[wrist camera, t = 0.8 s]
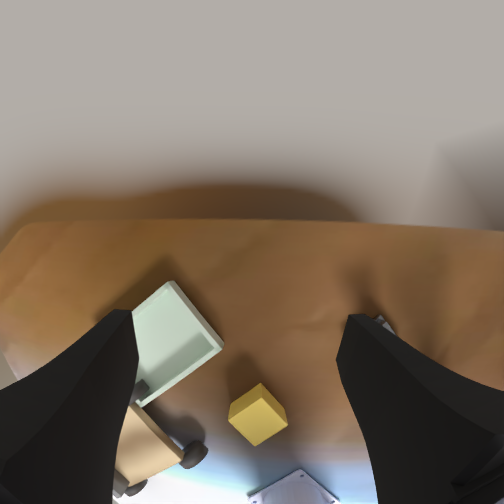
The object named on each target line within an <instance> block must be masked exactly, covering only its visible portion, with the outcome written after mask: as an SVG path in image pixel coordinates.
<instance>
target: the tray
mask: <svg viewBox="0 0 504 504" xmlns="http://www.w3.org/2000/svg"><path fill="white" fill-rule="evenodd" d="M132 316H133V323H134V329H135V335H136V341H137V347H138V353H139V364H138V370H137V376H136V381H135V384H136V383H137V382H138V381H140V380H141V379H143V380H144V381H145V383H146V384H147V385H148V386H149V387H150V389H149V390H148V391H147V392H146V393H145V394H144V395H143V396H141V397H140V398H139V399H138V400H136V401H135V402H136V403H137V404H138V405H139V406H140V408H142V407H143V406H144V405H146V404H147V403H149V402H150V401H152V400H153V399H155V398H156V397H157V396H159V395H160V394H162V393H163V392H165V391H166V390H167V389H169V388H170V387H172V386H173V385H174V384H176V383H177V382H179V381H180V380H181V379H183V378H184V377H186V376H187V375H188V374H190V373H191V372H193V371H194V370H195V369H197V368H198V367H199V366H201V365H202V364H203V363H205V362H206V361H207V360H209V359H210V358H211V357H213V356H214V355H215V354H217V353H218V352H219V351H221V350H222V349H223V346H224V342H223V341H222V339H221V338H220V337H219V336H218V335H217V333H216V332H215V331H214V330H213V329H212V327H211V326H210V325H209V324H208V323H207V321H206V320H205V319H204V318H203V316H202V315H201V314H200V313H199V311H198V310H197V309H196V308H195V306H194V305H193V304H192V303H191V301H190V300H189V299H188V298H187V296H186V295H185V294H184V293H183V291H182V290H181V289H180V287H179V286H178V285H177V284H176V282H175V281H168V282H166V283H165V284H164V285H163V286H162V287H160V288H159V289H158V290H157V291H156V292H154V293H153V294H152V295H151V296H150V297H149V298H147V299H146V300H145V301H144V302H143V303H141V304H140V305H139V306H138V307H137V308H136V309H134V310H133V311H132Z"/></svg>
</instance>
